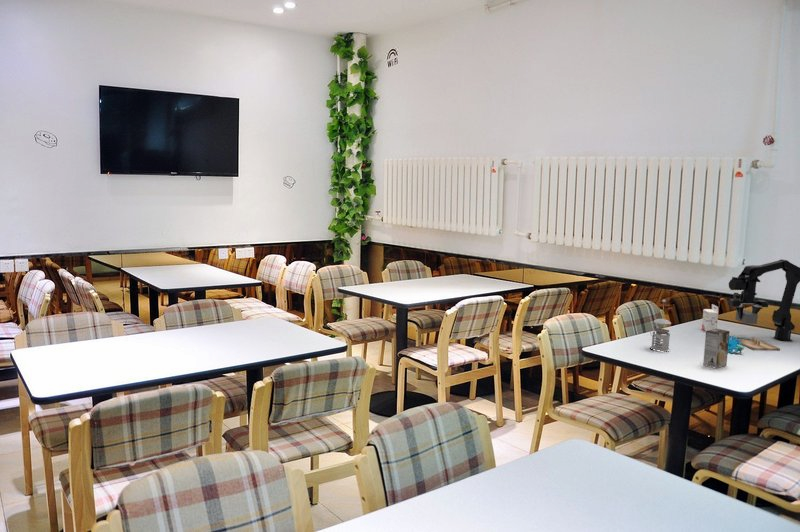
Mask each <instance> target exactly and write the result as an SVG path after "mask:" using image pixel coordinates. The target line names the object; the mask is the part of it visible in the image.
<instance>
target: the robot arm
mask: <svg viewBox="0 0 800 532" xmlns="http://www.w3.org/2000/svg"><path fill="white" fill-rule="evenodd" d="M781 269H782V271H784V272H785V274H784V276H785V282H786V284H785V288H784V291H783V294H782V298H781V301H780V305H779V308H778V309H776V310H775V309H774V310H773V313H772V315H771V318H772V322H773V325H774V327H775V328H776V330H775V332H774V336H773V338H774V339H776V340H778V341H783V342H785V341H788V342H792V341H793V339H791V336H792V331H794V329H795V328H796V326H795V325H794V323H793V322H792V313H791V308H792V305H793V301H794V297H795V293H796V290H797V286H798V284H799V283H800V267H799V266H797V265H795V263H792V262H790V261H789V260H787V259H782V258H781V259H779V260H775V261H772V262H767V263H764V264H759V265H754V264H753V265H745V266H744V267H743V270H741V272H740V274H739V275H738V276H737V277H736V276H732V277H731V279H730V280H729V282H728V288H729V290H730V291H741V292H740V293H739V292H733V295H732V299H728V301H727V305H729V306H731V307H733V308H735V309H736V310H737V312H738V315H739V319H741V318H742V314H743V310H744V309H745V308H744V307H743V306H751V309H752V310H751V312H753V313H755V314H758V313H759V312H761V310H762V309H764V308H769V303H768V301H766V300H763V299H762V300H761V299H756V296H757V294H758V293H757V292H756V290H757V289H756V288H757V283H761V282H762V281H761V279H759V277H762V275H764V274H766V273H771V272H773V271H777V270H781ZM755 299H756V300H755Z"/></svg>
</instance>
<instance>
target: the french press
mask: <svg viewBox="0 0 800 532" xmlns="http://www.w3.org/2000/svg"><path fill="white" fill-rule="evenodd" d="M661 302H662V303H667V300H666V299H662V300H661ZM662 305H663V308H662V312H664V310H665V309H664V308H665V304H662ZM671 324H672V322H671V321H670V320H667V319H664V316H662V317H661V318H657V319H655V320H653V323H652V324H651V325H650V327H649V334H650V336H651V338H652V339H651V346H650V347H649V348H652V349H655V350H660V351H668V350H670V351H671V349H670V348H669V347H670V335H671V333H670V330H669V329H665V328H663V327H661V328H654V327H655V326H658V325H661V326H670V325H671ZM652 328H653V331H652V333H651V329H652Z"/></svg>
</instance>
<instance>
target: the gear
mask: <svg viewBox="0 0 800 532" xmlns="http://www.w3.org/2000/svg"><path fill="white" fill-rule="evenodd" d="M733 339H737V340H733ZM740 339H741V338H737V336H735V335H734V336H733V337H731V336H730V335H729V343H728V352H729V354H730V355H731V354H734V352H735V353H738V352H739V353H740V354H742V351H744V350H745V346H743V345H742V342H740ZM736 341H738V342H739V343H738V342H736Z"/></svg>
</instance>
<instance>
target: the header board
mask: <svg viewBox="0 0 800 532" xmlns="http://www.w3.org/2000/svg"><path fill="white" fill-rule="evenodd" d="M737 339H738V338H736V339H733V340H737ZM739 339H740V342H742V345H741V346H743V347H744V348H747V349H748V350H751V351H778V352H779V351H781V348H779V347H777V346H774V345H773V344H770V343H768V342H765V341H764V340H761V339H759V338H755V337H752V338H751V339H750V338H746V339H745V338H739ZM736 342H738V341H736ZM738 343H739V342H738Z"/></svg>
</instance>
